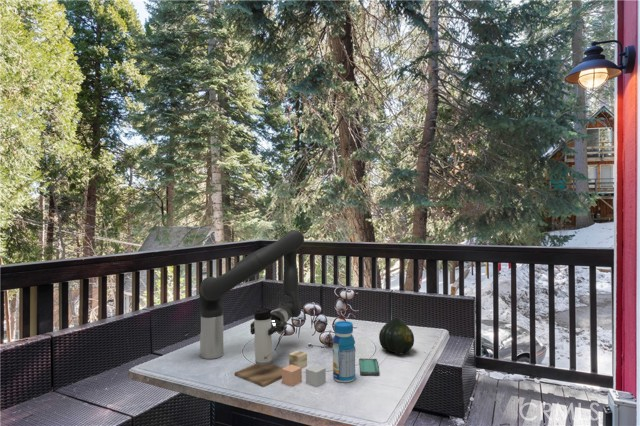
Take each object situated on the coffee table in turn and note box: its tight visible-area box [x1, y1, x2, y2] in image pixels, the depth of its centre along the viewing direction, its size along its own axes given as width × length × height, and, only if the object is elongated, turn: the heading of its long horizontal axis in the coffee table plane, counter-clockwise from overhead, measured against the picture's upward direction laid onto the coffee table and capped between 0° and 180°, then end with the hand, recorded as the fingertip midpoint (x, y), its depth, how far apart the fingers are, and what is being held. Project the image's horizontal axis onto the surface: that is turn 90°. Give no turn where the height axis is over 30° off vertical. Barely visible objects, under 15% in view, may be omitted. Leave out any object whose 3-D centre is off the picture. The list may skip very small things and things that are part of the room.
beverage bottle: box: [331, 320, 356, 383], centre depth 139 cm, size 8×8×20 cm
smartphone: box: [358, 358, 380, 377], centre depth 148 cm, size 7×1×15 cm
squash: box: [378, 316, 415, 356], centre depth 166 cm, size 14×15×15 cm
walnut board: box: [234, 363, 284, 388], centre depth 143 cm, size 16×14×1 cm
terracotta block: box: [281, 364, 303, 387], centre depth 136 cm, size 5×5×5 cm
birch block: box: [288, 350, 308, 369], centre depth 151 cm, size 5×5×5 cm
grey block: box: [305, 364, 327, 388], centre depth 136 cm, size 5×5×5 cm
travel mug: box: [253, 308, 273, 365], centre depth 143 cm, size 6×7×20 cm
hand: (260, 332), depth 141 cm, fingers closed on travel mug, 6 cm apart
